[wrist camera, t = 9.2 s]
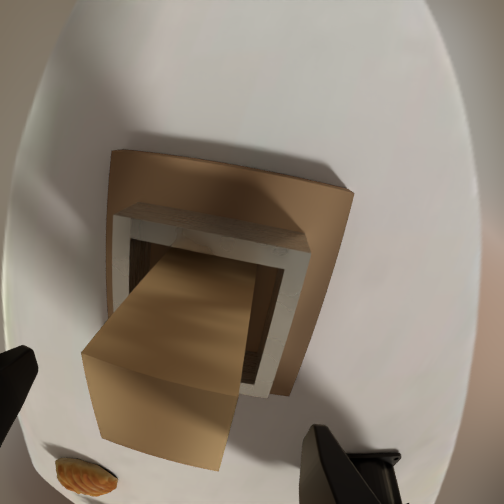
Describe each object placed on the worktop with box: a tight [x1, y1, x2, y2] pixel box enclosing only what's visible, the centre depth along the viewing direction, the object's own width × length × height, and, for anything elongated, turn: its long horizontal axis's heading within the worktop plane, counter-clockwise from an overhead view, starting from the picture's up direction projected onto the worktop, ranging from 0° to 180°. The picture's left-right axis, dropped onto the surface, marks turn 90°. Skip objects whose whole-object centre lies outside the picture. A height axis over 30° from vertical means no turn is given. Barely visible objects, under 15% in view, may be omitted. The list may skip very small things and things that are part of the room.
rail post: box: [81, 247, 257, 471], centre depth 11 cm, size 4×4×8 cm
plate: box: [106, 149, 354, 396], centre depth 15 cm, size 11×12×1 cm
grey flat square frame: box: [112, 202, 311, 398], centre depth 13 cm, size 8×8×2 cm
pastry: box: [55, 458, 118, 496], centre depth 25 cm, size 9×7×4 cm
